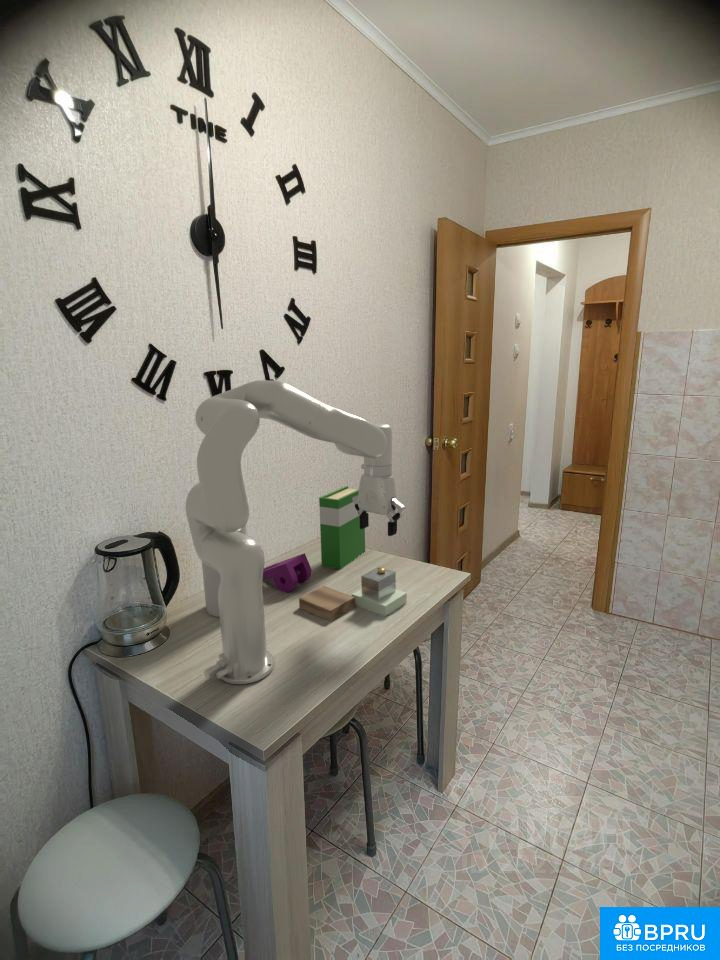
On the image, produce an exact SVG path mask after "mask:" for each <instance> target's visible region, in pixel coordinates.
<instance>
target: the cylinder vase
mask: <svg viewBox="0 0 720 960" xmlns="http://www.w3.org/2000/svg"><path fill="white" fill-rule="evenodd" d="M237 532H240V533H242V534H245V535H247V536H248V532H247V524H246V525H245V526H244V527H243V528H242V529H241V530H239V531H237ZM201 568H202V577H203V578H202V579H203V589H204V591H203V592H204V599H205V609H206V612H207V613H208V614H209V615H211V616H213V617H216V618H220V614H219V606H218V591H219V586H220V582H221V576H220V573H219V572H217V571H215V570H214V569H212V568H211V567H209V566H207V565H206V564H204V563H203V562H202V561H201Z"/></svg>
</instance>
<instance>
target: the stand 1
mask: <svg viewBox="0 0 720 960" xmlns="http://www.w3.org/2000/svg"><path fill="white" fill-rule="evenodd" d="M298 603H299V604H298V605H299V609H301V610H304V611H306V612H308V613H310V614H313V615H315V616H317V617H320V618H322V619H324V620H327V621H330V622H332V621H334V620H335V619H337V618H339V617H340V616H342V615H344V614H345V613H347V612H349V611H350V610H352V609H354V608H356V605H355V597H353V596H352V595H350V594H347V593H344V592H341V591H339V590H336V589H333V588H331V587H328V586H326V585H322V586H320V587H318V588H316V589H314V590H312V591H310V592H309V593H307V594H304V595H303V596H300V597H298Z"/></svg>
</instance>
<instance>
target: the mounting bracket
mask: <svg viewBox="0 0 720 960" xmlns="http://www.w3.org/2000/svg"><path fill="white" fill-rule="evenodd" d="M312 573H313V571H312V567H311V565H310V563H309V559H308V558H307V555H306V553H302V554H298V555H296V556H294V557H289V558H288V559H285V560H282V561H278V562H276V563H274V564H271V565H268V566H267V567H264V570H263V579H266V578H268V577H269V578H271V580H272V583H273V585H274V586H275V587H276V588H275V589H277V590H278V591H279V592H282V593H283V592H284V593H290V592H291V591H293V590H295V589H296V588H297V586H298V585H299V584H300V585H301V584H304V583H306V582H307V581H309V580H311V577H312Z"/></svg>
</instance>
